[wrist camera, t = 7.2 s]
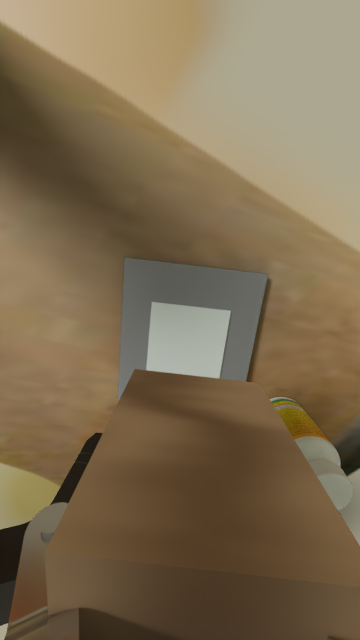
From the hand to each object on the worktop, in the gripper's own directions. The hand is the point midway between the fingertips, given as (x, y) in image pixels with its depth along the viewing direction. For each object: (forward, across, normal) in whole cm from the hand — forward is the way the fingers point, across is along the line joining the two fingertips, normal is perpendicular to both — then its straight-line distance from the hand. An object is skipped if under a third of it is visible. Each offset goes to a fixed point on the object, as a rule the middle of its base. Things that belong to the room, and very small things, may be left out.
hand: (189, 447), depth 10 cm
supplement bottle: (+15, -12, +8) cm, 21 cm away
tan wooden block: (+1, 0, 0) cm, 1 cm away
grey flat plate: (+15, 0, 0) cm, 15 cm away
